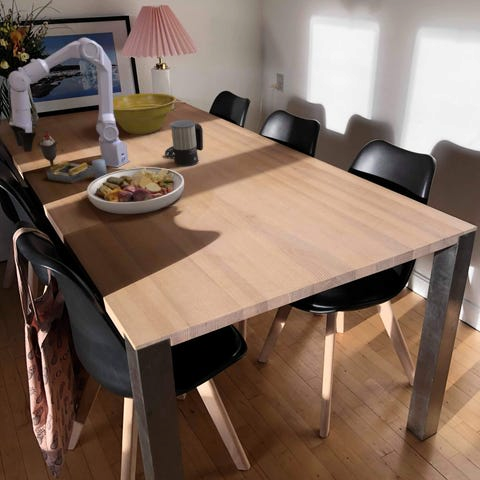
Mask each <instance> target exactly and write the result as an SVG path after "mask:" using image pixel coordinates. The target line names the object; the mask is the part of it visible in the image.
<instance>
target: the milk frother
mask: <svg viewBox="0 0 480 480" xmlns="http://www.w3.org/2000/svg"><path fill="white" fill-rule="evenodd" d="M169 126H170V129H171V137H172V146H170V147H168V148H166V150H165V151H164V155H165V157H167V158H170V159H173V160H174V162H173V163H174V165H176V166H178V167H191V166H194V165H197V164H198V163H199V161H200V160H199V156H198V155H199V154H198V151H200V152H201V151H203V150H204V136H203V133H204V131H203V127H202V125H201V124H199V123H198V122H196V121H195V120H189V119H188V120H187V119H182V120H176V121H175V120H174V121H173V122H171V123H170V124H169Z"/></svg>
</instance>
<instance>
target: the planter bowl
mask: <svg viewBox="0 0 480 480" xmlns="http://www.w3.org/2000/svg"><path fill="white" fill-rule="evenodd" d="M176 100H177V98H176V97H175V96H173V95H170V94H167V93H166V94H165V93H158V92H157V93H155V92H153V93H152V92H150V93H148V92H147V93H135V94H128V95H127V94H126V95H120V96H116V97H113V115H114V118H115V121H117V123H118V124H119V126H120V127H121V129H122V130H123V131H125V132H127V133H128V134H131V135H144V134H145V135H146V134H150V133H151V134H152V133H155V132H157V131H159V129H161V128H162V126H163V125H164V122H165V120H166V117H167V115H168V113H170V112H171V111H172V109H173V107H174V104H175V103H174V102H176Z"/></svg>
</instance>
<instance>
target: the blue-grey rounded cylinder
mask: <svg viewBox="0 0 480 480" xmlns="http://www.w3.org/2000/svg"><path fill="white" fill-rule="evenodd" d="M91 166H92V168H93V176H94V180H96V179H97V178H99V177H101V176H104V175H106V174H108V172H107V166H106V165H105V160H103V159H102V158H98V159H93V160H92V161H91Z"/></svg>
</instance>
